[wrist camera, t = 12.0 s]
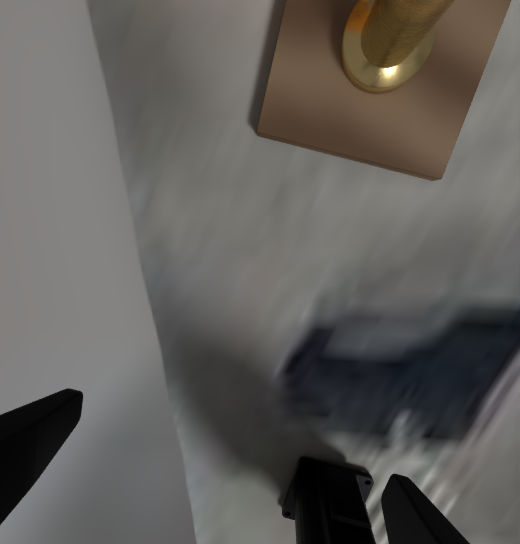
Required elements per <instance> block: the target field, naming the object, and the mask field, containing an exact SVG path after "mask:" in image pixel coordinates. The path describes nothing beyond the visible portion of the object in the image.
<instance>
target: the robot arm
mask: <svg viewBox="0 0 520 544" xmlns="http://www.w3.org/2000/svg"><path fill="white" fill-rule="evenodd" d="M82 402H83V393H82V392H81V391H77V390H74V389H65V390H62V391H59V392H57V393H54V394H52V395H49V396H47V397H44V398H42V399H39V400H37V401H34V402H32V403H29V404H27V405H24V406H21V407H19V408H16V409H14V410H12V411H9V412H6V413H4V414H2V415H0V525H1V523H2V522H3V521H4V520H5V519H6V517H7V516H8V515H9V514H10V513H11V511H12V510H13V509H14V508H15V507H16V506H17V504H18V503H19V502H20V501H21V500H22V498H23V497H24V496H25V495H26V494H27V492H28V491H29V490H30V489H31V487H32V486H33V485H34V484H35V482H36V481H37V480H38V478H39V477H40V476H41V474H42V473H43V471H44V470H45V469H46V467H47V466H48V465H49V463H50V462H51V460H52V459H53V457H54V456H55V455H56V453H57V452H58V451H59V449H60V448H61V446H62V445H63V444H64V442H65V441H66V439H67V438H68V437H69V435H70V434H71V432H72V431H73V429H74V428H75V427H76V425H77V424H78V421H79V420H80V417H81V410H82ZM373 484H374V482H373V479H372V476H371V475H370V474H368V473H364V472H360V471H356V470H353V469H349V468H345V467H341V466H337V465H334V464H330V463H326V462H322V461H318V460H315V459H311V458H307V457H302V458H300V459H299V461H298V464H297V467H296V470H295V473H294V475H293V478H292V481H291V484H290V487H289V490H288V492H287V495H286V498H285V501H284V504H283V507H282V515H283V516H284V517H285V518H289V519H292V520H295V527H296V544H376V542H375V539H374V535H373V532H372V529H371V527H372V526H371V522H370V519H369V515H368V512H367V509H366V505H365V502H366V500H367V497H368V495H369V493H370V491H371V488H372V486H373ZM381 504H382V510H383V515H384V520H385V526H386V531H387V536H388V541H389V544H470V543H469V542H468V541H467V540H466V539H465V538H464V537H463V536H462V535H461V534H460V532H459V531H458V530H457V529H456V528H455V527H454V526H453V525H452V524H451V523H450V522H449V521H448V520H447V518H446V517H445V516H444V515H443V514H442V513H441V512H440V511H439V510H438V509H437V508H436V507H435V506H434V504H433V503H432V502H431V501H430V500H429V499H428V498H427V497H426V496H425V495H424V494H423V493H422V492H421V490H420V489H419V488H418V487H417V486H416V485H415V484H414V483H413V482H412V481H411V480H410V479H409V478H408V477H405V476H402V475H398V474H392V475H391V476H390V478H389V480H388V483H387V485H386V487H385V489H384V491H383V493H382V498H381Z"/></svg>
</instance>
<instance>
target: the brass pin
mask: <svg viewBox="0 0 520 544" xmlns="http://www.w3.org/2000/svg"><path fill="white" fill-rule="evenodd" d="M455 1H456V0H360V1H359V2H358V3H357V4H356V6H355V7H354V9H353V10H352V12H351V14H350V16H349V18H348V21H347V24H346V26H345V29H344V32H343V35H342V38H341V43H340V62H341V66H342V69H343V72H344V74H345V76H346V77H347V79H348V80H349V81H350V83H351V84H352V85H353V86H355V87H356V88H357V89H359V90H361V91H363V92H366V93H370V94H385V93H388V92H391V91H394V90H396V89H398V88H399V87H401V86H402V85H404V84H405V83H406V82H407V81H408V80H409V79H410V78H411V77H412V76H413V75H414V74H415V73H416V72H417V71H418V70H419V69H420V68H421V66H422V65H423V64H424V62H425V61H426V59H427V57H428V56H429V54H430V51H431V49H432V46H433V42H434V37H435V24H436V23H437V22H438V21H439V20H440V18H441V17H442V16H443V15H444V14H445V13H446V11H447V10H448V9H449V8H450V7H451V5H452V4H453V3H454V2H455Z"/></svg>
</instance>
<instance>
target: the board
mask: <svg viewBox="0 0 520 544" xmlns="http://www.w3.org/2000/svg"><path fill="white" fill-rule="evenodd" d="M359 1H360V0H286V5H285V9H284V13H283V18H282V22H281V27H280V31H279V36H278V40H277V44H276V49H275V53H274V58H273V62H272V66H271V71H270V75H269V80H268V84H267V88H266V93H265V97H264V102H263V106H262V110H261V115H260V119H259V124H258V128H257V135H258V136H260V137H264V138H268V139H271V140H275V141H279V142H283V143H287V144H291V145H295V146H299V147H303V148H306V149H310V150H314V151H318V152H322V153H326V154H330V155H334V156H338V157H341V158H345V159H349V160H353V161H357V162H361V163H365V164H369V165H373V166H376V167H380V168H384V169H388V170H392V171H396V172H400V173H404V174H408V175H411V176H415V177H419V178H423V179H427V180H431V181H434V180H439V179H442V177H443V174H444V171H445V169H446V166H447V164H448V161H449V159H450V156H451V153H452V151H453V148H454V146H455V143H456V141H457V138H458V136H459V133H460V130H461V128H462V125H463V123H464V120H465V118H466V115H467V112H468V110H469V107H470V105H471V102H472V100H473V97H474V95H475V92H476V89H477V87H478V84H479V82H480V79H481V77H482V74H483V71H484V69H485V66H486V64H487V61H488V59H489V56H490V54H491V51H492V48H493V46H494V43H495V41H496V38H497V36H498V33H499V30H500V28H501V25H502V23H503V20H504V18H505V15H506V12H507V10H508V7H509V5H510V2H511V0H456V1H455V2H454V3H453V4H452V5H451V7H450V8H449V9H448V10H447V11H446V13H445V14H444V15H443V16H442V17H441V18H440V20H439V21H438V22H437V23H436V24H435V37H434V42H433V46H432V49H431V51H430V54H429V56H428V57H427V59H426V61H425V62H424V64H423V65H422V66H421V68H420V69H419V70H418V71H417V72H416V73H415V74H414V75H413V76H412V77H411V78H410V79H409V80H408V81H407V82H406V83H405V84H404V85H402V86H401V87H399V88H398V89H396V90H394V91H391V92H388V93H385V94H370V93H366V92H363V91H361V90H359V89H357V88H356V87H355V86H353V85H352V84H351V83H350V81H349V80H348V79H347V77H346V76H345V74H344V72H343V69H342V66H341V62H340V43H341V38H342V35H343V32H344V29H345V26H346V24H347V21H348V18H349V16H350V14H351V12H352V10H353V9H354V7H355V6H356V4H357V3H358V2H359Z"/></svg>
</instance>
